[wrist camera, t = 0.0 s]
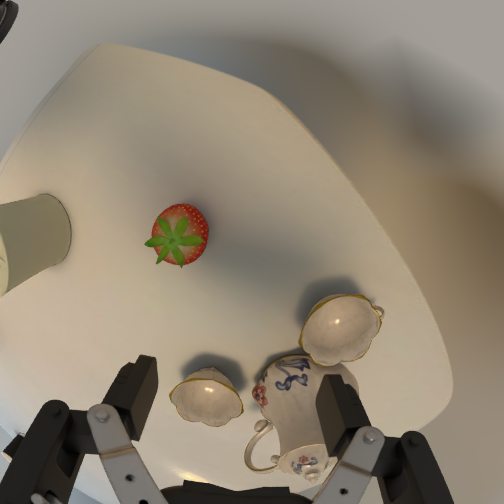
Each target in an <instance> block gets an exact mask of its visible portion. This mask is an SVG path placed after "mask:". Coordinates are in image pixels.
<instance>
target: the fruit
mask: <svg viewBox="0 0 504 504" xmlns="http://www.w3.org/2000/svg"><path fill="white" fill-rule="evenodd" d="M208 232H209V229H208V224H207V222H206V220H205V218H204V217H203V215H202V214H201V213H200V212H199V210H197V209H196V208H195V207H193V206H191V205H188V204H176V205H173V206H171V207H169V208H167V209H166V210H164V211H163V212H162V213H161V214H160V215H159V216H158V218H157V219H156V221H155V223H154V226H153V229H152V238H151V239H149V240H148V241H147V242H145V244H144V245H146V246H148V247H154V249H155V251H156V253H157V254H158V259H157V262H156V264H158V263H160V262H161V261H162V260H164V261H166V262H168V263H171V264H175V265H180V266H181V268H182V266H183V265H186V264H189V263H192V262H194V261H195V260H196V259H198V258H199V257H200V256H201V254H202V253H203V252H204V250H205V248H206V244H207V240H208Z"/></svg>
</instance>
